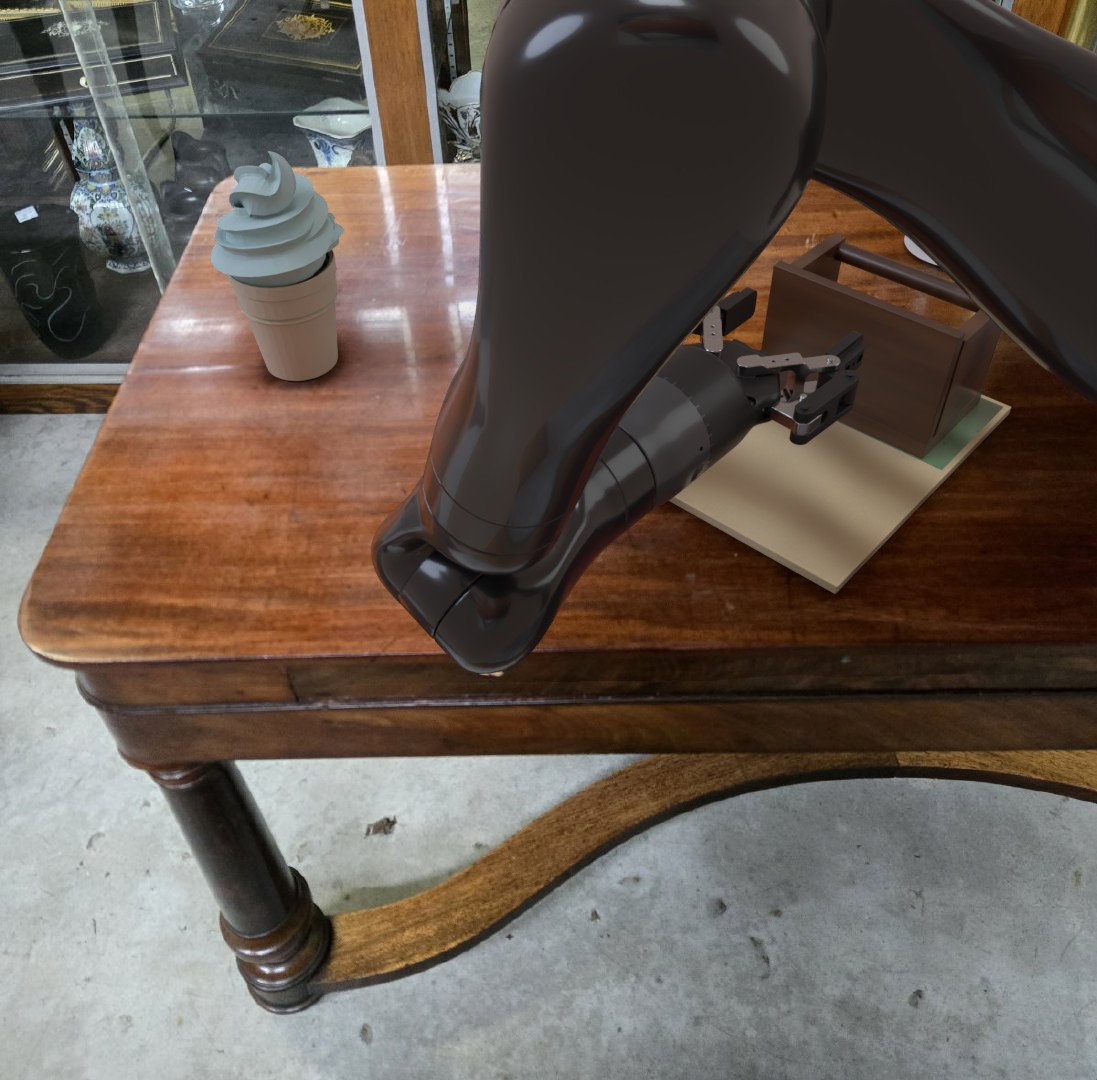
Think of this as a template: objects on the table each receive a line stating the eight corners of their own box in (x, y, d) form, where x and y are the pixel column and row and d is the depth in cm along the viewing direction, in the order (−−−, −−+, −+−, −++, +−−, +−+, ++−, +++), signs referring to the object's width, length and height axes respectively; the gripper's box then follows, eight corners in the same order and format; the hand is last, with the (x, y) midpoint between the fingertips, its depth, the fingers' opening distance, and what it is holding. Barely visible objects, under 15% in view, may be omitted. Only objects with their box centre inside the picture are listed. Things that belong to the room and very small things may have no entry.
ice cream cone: (247, 336, 99) (194, 129, 85) (364, 328, 100) (330, 122, 86) (235, 399, 92) (174, 185, 78) (361, 390, 93) (323, 176, 79)
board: (835, 594, 74) (837, 586, 74) (619, 473, 84) (620, 466, 84) (1009, 414, 89) (1011, 406, 88) (808, 329, 99) (809, 321, 98)
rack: (922, 459, 83) (959, 338, 75) (755, 382, 91) (773, 264, 83) (979, 402, 89) (1019, 283, 81) (817, 334, 96) (839, 219, 88)
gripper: (762, 430, 58) (907, 310, 66) (570, 337, 65) (724, 239, 73) (747, 528, 63) (884, 405, 71) (571, 432, 70) (714, 330, 78)
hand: (802, 321), depth 72 cm, fingers open, 8 cm apart
